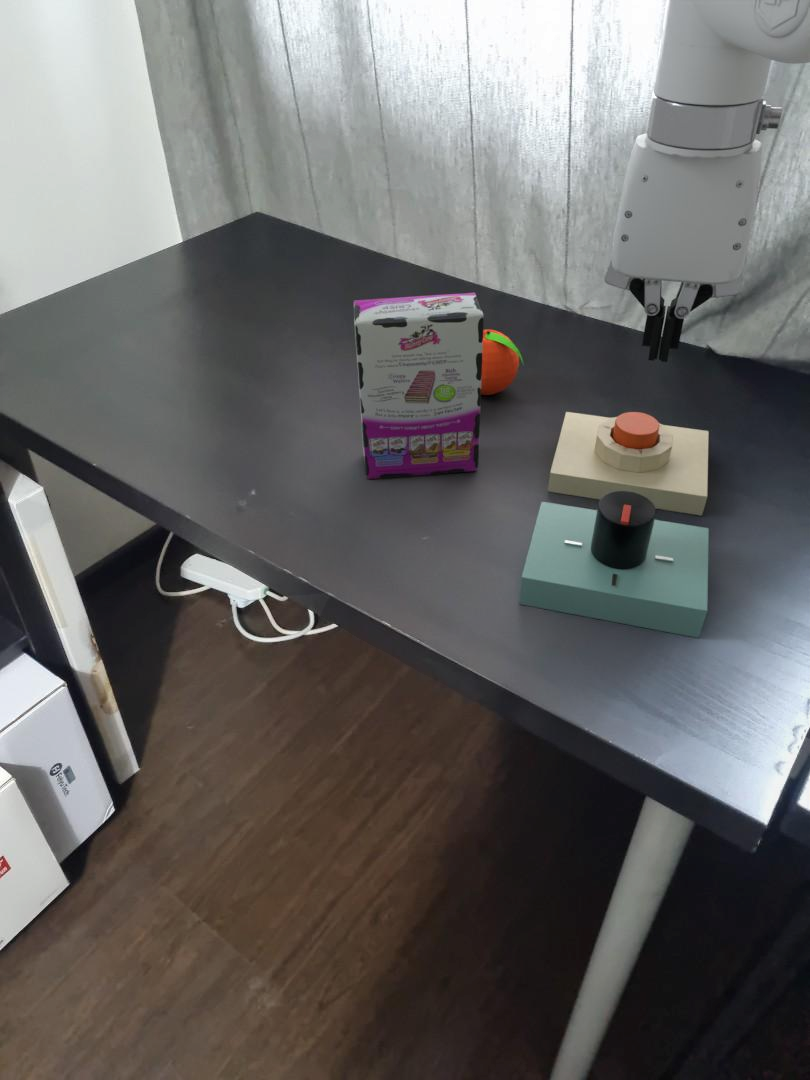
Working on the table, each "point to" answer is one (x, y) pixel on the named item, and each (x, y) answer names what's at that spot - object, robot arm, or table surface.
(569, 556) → the dial panel
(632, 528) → the knob
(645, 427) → the power button
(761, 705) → the table surface
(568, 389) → the table surface
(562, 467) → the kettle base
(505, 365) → the clementine
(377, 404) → the candy bar box
